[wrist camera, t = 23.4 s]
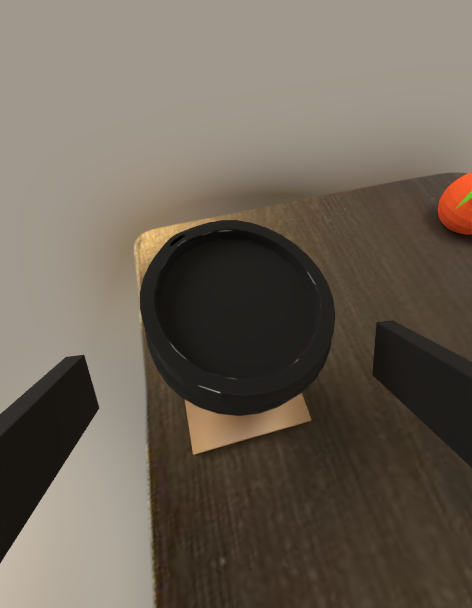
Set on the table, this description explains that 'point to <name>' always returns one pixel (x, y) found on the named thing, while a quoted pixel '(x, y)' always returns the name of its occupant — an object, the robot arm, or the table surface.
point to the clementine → (457, 206)
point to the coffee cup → (236, 317)
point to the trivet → (241, 424)
